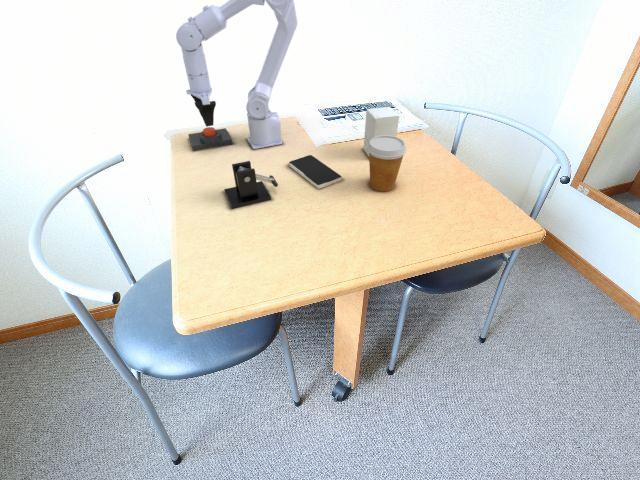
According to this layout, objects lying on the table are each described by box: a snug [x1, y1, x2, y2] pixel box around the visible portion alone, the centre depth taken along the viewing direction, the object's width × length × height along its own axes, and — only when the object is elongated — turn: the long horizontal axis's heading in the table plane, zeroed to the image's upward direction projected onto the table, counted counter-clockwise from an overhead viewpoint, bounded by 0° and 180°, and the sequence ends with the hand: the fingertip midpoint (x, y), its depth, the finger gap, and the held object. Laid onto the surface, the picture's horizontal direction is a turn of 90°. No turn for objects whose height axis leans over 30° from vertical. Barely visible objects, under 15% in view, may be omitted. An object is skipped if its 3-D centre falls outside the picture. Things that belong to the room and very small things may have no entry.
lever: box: [237, 166, 279, 188], centre depth 91 cm, size 10×4×2 cm, turn 113°
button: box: [202, 126, 216, 137], centre depth 113 cm, size 4×4×2 cm
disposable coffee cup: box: [367, 135, 407, 192], centre depth 93 cm, size 10×10×12 cm
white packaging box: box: [363, 106, 400, 157], centre depth 106 cm, size 7×7×13 cm
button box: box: [187, 127, 233, 152], centre depth 115 cm, size 12×10×4 cm
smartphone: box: [288, 154, 342, 189], centre depth 102 cm, size 8×1×15 cm
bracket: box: [223, 160, 272, 210], centre depth 91 cm, size 10×8×8 cm
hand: (207, 120), depth 110 cm, fingers open, 7 cm apart
